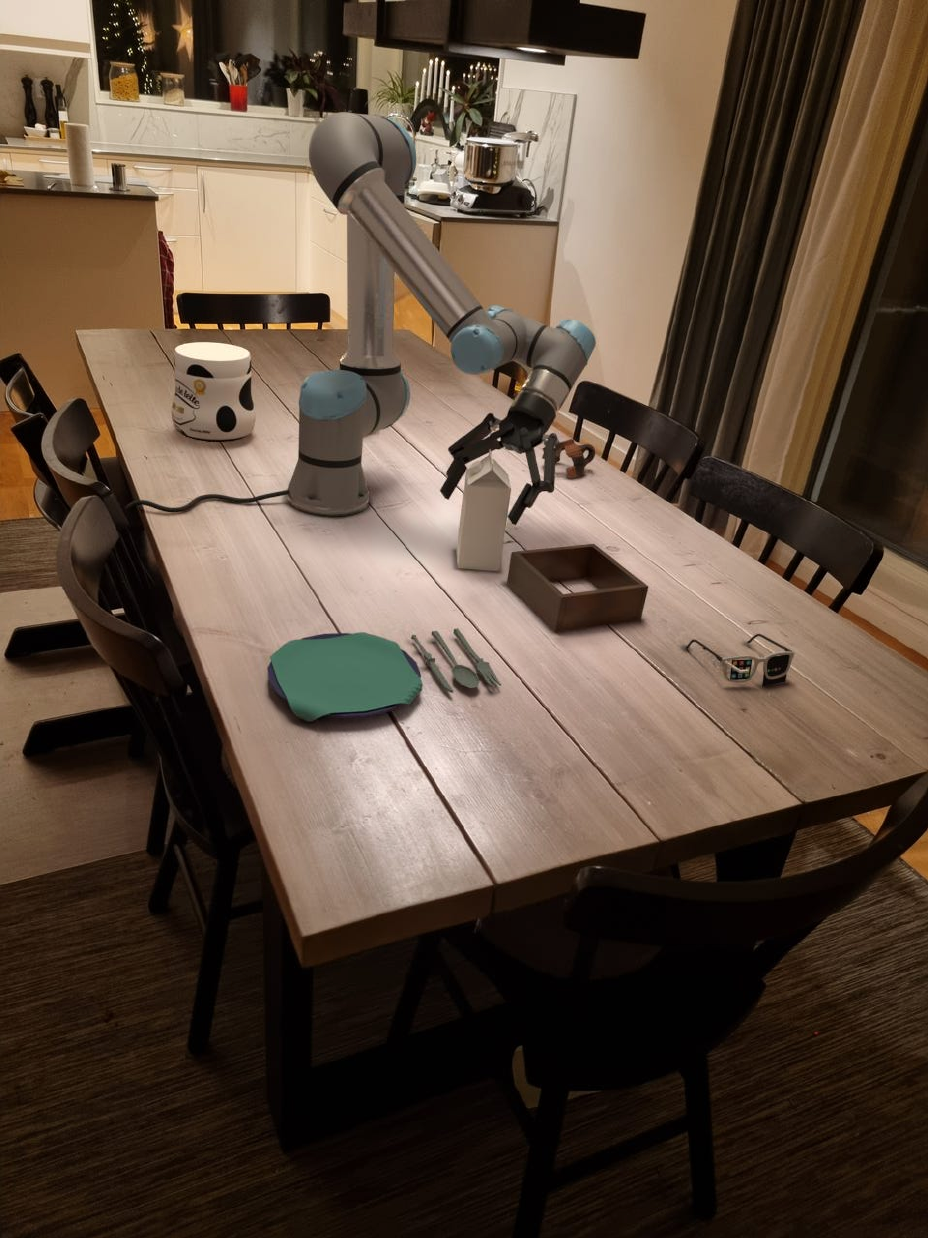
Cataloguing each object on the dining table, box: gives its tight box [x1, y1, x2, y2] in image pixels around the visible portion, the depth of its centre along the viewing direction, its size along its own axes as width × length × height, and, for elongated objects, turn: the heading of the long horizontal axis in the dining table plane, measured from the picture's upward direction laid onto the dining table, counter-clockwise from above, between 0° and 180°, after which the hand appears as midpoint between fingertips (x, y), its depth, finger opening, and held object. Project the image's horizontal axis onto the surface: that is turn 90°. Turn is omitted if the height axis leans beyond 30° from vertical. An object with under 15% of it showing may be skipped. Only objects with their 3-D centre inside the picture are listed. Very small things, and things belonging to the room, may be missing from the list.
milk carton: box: [456, 449, 512, 572], centre depth 152 cm, size 7×7×19 cm
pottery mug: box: [541, 438, 596, 479], centre depth 203 cm, size 12×9×8 cm
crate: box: [506, 543, 649, 633], centre depth 146 cm, size 16×16×6 cm
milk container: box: [171, 341, 257, 444], centre depth 193 cm, size 17×17×18 cm
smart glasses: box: [685, 633, 795, 687], centre depth 134 cm, size 12×14×5 cm
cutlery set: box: [267, 627, 502, 723], centre depth 121 cm, size 20×30×2 cm, turn 113°
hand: (477, 508), depth 151 cm, fingers open, 13 cm apart
